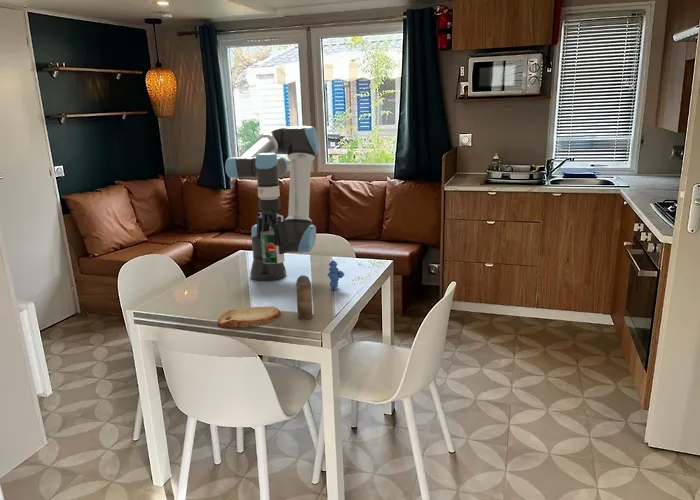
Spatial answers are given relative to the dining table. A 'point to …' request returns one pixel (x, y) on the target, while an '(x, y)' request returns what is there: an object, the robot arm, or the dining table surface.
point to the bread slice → (248, 317)
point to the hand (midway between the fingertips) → (273, 260)
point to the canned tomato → (268, 247)
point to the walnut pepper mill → (304, 297)
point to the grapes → (334, 274)
